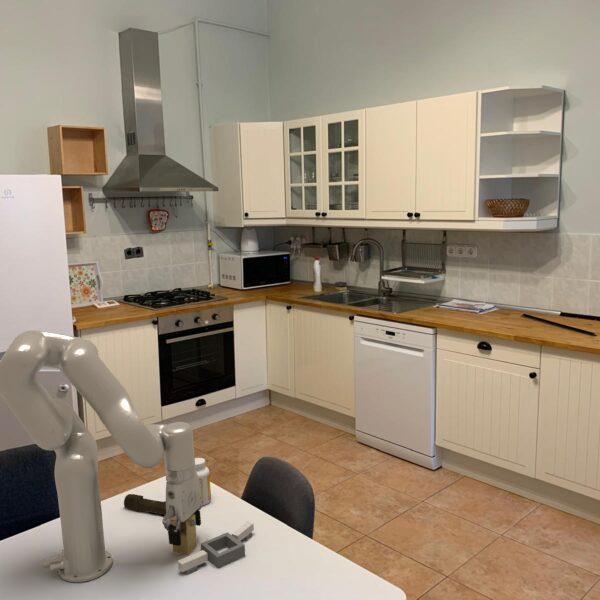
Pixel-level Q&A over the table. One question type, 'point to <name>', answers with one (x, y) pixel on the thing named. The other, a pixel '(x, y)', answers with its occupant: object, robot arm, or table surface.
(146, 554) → the table surface
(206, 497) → the supplement bottle
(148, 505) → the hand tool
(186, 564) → the socket
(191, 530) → the tan wooden block
